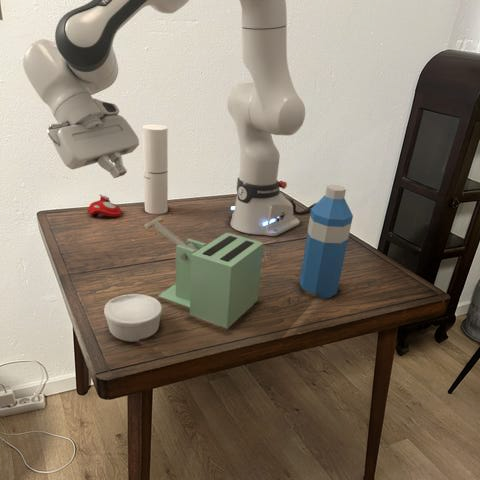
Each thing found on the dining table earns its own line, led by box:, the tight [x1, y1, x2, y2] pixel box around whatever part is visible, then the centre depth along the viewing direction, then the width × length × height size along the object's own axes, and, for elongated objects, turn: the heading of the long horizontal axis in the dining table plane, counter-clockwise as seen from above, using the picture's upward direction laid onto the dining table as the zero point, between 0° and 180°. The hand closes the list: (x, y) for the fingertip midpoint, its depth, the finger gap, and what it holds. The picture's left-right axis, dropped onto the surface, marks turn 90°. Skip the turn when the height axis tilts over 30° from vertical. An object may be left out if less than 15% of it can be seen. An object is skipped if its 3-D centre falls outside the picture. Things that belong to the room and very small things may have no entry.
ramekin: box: [103, 293, 163, 343], centre depth 98 cm, size 11×11×5 cm
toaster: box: [188, 232, 265, 330], centre depth 104 cm, size 9×14×15 cm, turn 152°
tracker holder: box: [87, 194, 122, 218], centre depth 150 cm, size 12×4×10 cm
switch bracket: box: [157, 238, 207, 309], centre depth 108 cm, size 11×9×13 cm
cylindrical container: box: [141, 123, 169, 215], centre depth 149 cm, size 7×7×25 cm
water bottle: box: [298, 184, 354, 299], centre depth 113 cm, size 9×9×25 cm
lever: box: [143, 216, 199, 251], centre depth 106 cm, size 12×5×2 cm, turn 62°
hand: (121, 175), depth 105 cm, fingers closed
